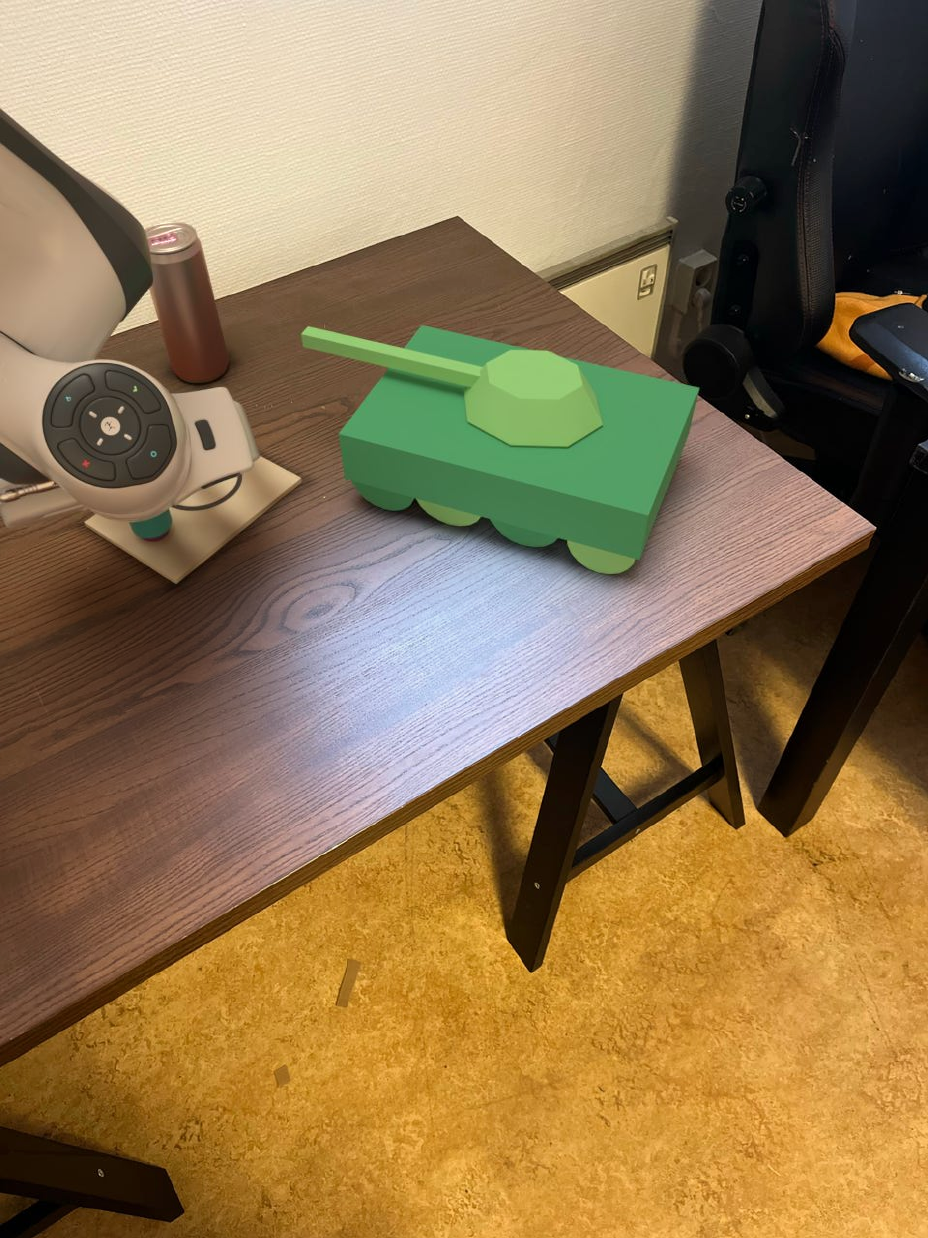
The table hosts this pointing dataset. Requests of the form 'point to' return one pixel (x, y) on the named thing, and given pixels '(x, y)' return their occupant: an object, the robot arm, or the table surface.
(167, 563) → the board
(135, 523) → the dot marker
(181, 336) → the beverage can
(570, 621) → the table surface
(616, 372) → the toy tank
